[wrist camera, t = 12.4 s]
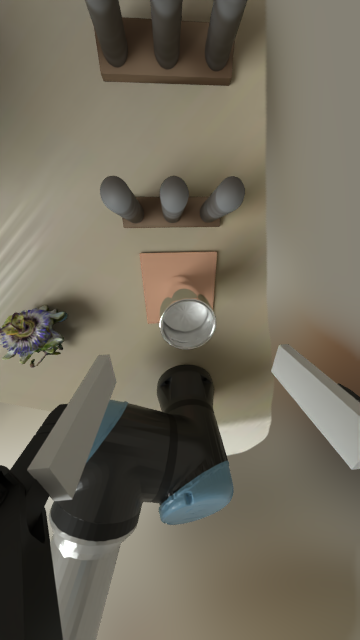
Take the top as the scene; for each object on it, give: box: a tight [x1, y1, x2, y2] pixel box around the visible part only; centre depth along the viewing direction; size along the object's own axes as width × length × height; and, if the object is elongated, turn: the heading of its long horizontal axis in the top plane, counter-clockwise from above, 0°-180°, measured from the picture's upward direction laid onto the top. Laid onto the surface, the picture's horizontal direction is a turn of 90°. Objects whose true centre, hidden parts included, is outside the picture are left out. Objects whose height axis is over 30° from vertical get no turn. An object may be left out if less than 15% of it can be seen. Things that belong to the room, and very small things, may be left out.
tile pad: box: [140, 252, 217, 324], centre depth 32 cm, size 14×14×1 cm
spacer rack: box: [85, 0, 247, 228], centre depth 18 cm, size 20×16×11 cm
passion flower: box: [0, 305, 68, 367], centre depth 30 cm, size 11×11×12 cm
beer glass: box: [159, 276, 216, 349], centre depth 25 cm, size 7×7×15 cm
